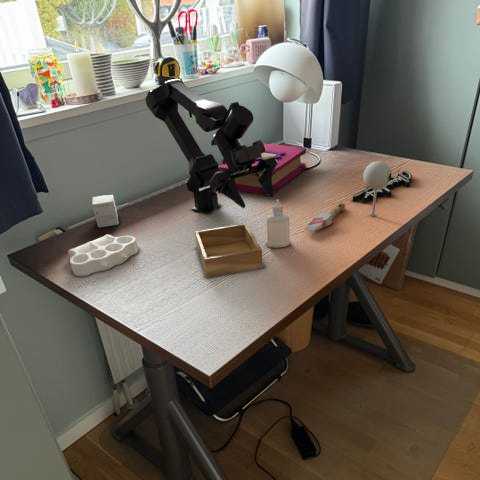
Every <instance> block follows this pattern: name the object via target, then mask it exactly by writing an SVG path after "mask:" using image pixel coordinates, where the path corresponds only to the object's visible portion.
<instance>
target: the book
mask: <svg viewBox="0 0 480 480" xmlns="http://www.w3.org/2000/svg"><path fill="white" fill-rule="evenodd" d="M263 144H264V146H265V152H264V153H262V154H261V155H262V157H261V158H260V157H259V158H256V159H255V160H256V162H255V163H254V164H252V167H253V166H256V165H257V164H258V163H259V161H260V160H261V159H263V158H266V157H270V156H272V157H275V159H276V161H277V163H278V165H277V166H276V167H275V170H274V171H273V172H272V186H273V193H276V192H277V190H278V189H279V188H281V187H283V186H284V185H285V184H286V183H288V182H289V181H291V180H292V179H293V178H294V177H296V176H297V175H298V174H300V173H302V172H304V171H305V170H306V169H307V164H306V163H305V162H301V157H302V156H304V155H305V154H306V153H307V147H305V146H293V145H282V144H272V143H263ZM219 168H220V170H221V171H222V170H225V169H228V170H229V168H228V166H227V164H225V165H224V164H223V163H221V164H219ZM258 179H259V177H257V176H256V174H253V175H250V176H246V177H243V178H240V179H236V180H235V184H236V188H237V189H238V191H241V192H248V193H253V194H259V195H262V196H263V195H264V196H268V194H267V193H266V191H265V190H264V188H263V187H262V185H261V184H260V182H259V181H258Z"/></svg>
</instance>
